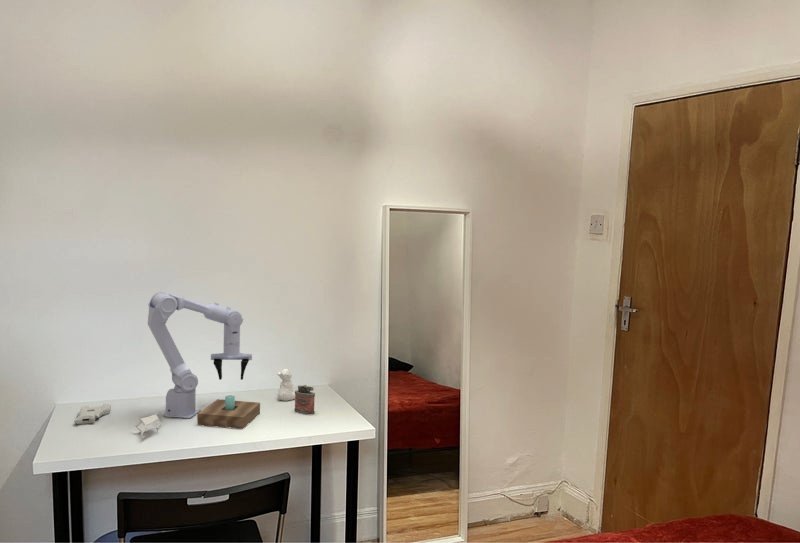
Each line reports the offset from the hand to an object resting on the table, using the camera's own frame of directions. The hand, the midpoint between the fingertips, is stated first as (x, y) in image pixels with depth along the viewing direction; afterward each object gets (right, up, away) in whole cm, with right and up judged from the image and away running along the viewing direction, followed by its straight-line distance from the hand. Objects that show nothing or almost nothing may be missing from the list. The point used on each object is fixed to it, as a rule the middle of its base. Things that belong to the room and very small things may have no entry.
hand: (231, 378), depth 220 cm
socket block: (+3, -12, -12) cm, 17 cm away
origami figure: (-18, -13, -30) cm, 37 cm away
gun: (-43, -11, -15) cm, 47 cm away
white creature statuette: (+18, -10, +13) cm, 24 cm away
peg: (+3, -12, -12) cm, 17 cm away
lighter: (+27, -12, -2) cm, 30 cm away
